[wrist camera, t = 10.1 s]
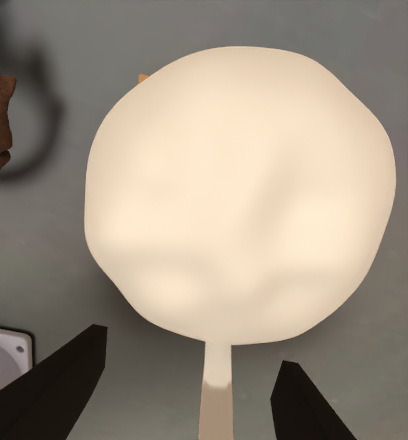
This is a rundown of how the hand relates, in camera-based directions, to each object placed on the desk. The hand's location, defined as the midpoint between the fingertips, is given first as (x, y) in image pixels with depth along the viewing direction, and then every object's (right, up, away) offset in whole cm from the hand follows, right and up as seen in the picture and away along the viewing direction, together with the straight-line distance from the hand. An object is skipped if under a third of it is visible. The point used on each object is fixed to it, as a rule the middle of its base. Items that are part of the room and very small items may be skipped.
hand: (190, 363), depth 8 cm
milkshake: (+1, +7, +3) cm, 8 cm away
